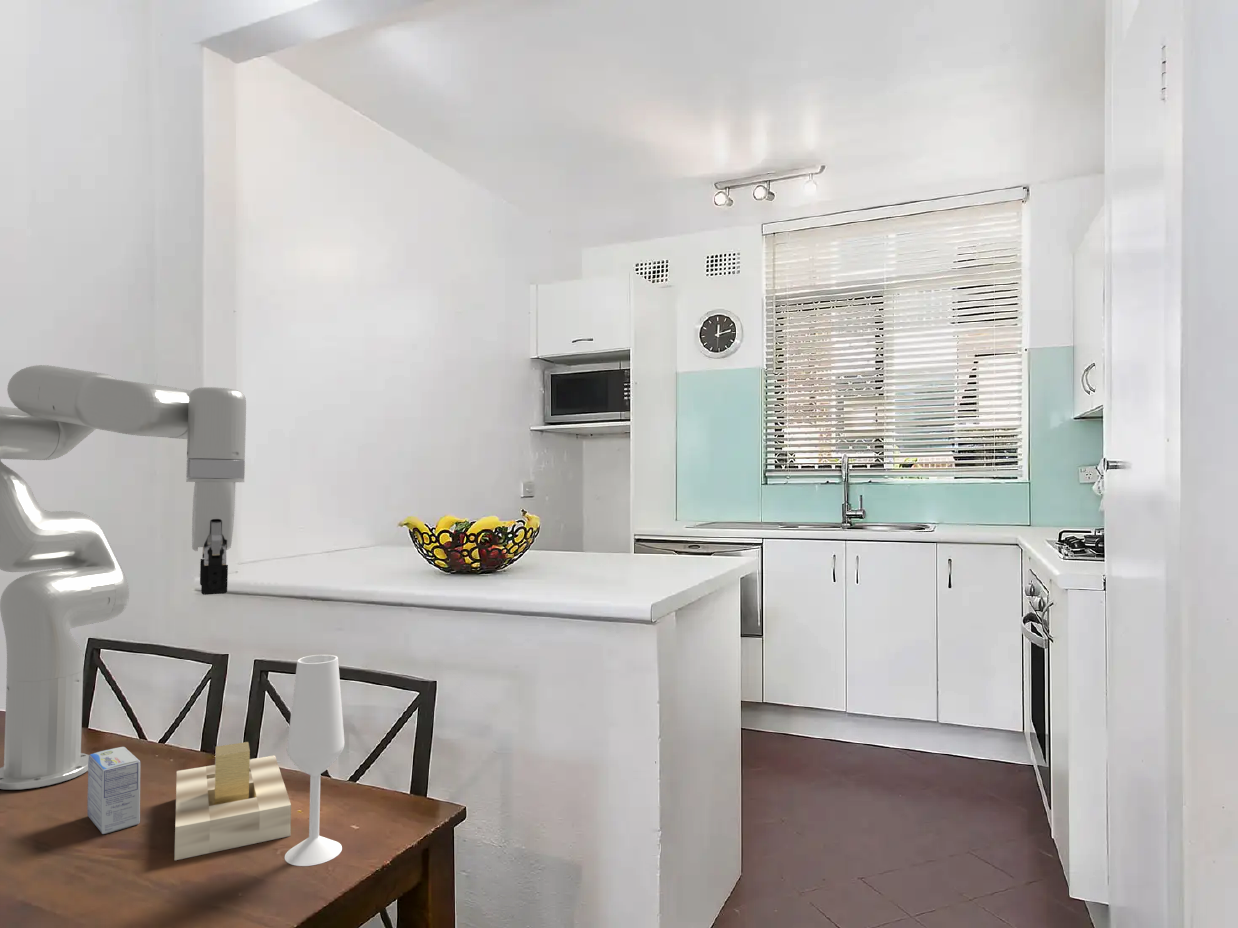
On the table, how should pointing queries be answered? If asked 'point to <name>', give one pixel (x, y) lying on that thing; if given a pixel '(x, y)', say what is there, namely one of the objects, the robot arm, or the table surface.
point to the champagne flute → (315, 745)
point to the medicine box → (113, 789)
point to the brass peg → (232, 773)
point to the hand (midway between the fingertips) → (213, 589)
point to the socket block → (230, 810)
